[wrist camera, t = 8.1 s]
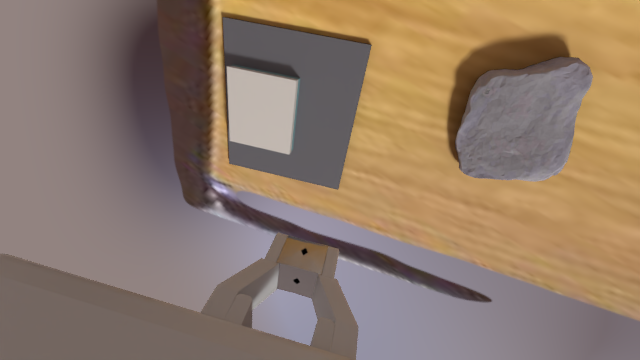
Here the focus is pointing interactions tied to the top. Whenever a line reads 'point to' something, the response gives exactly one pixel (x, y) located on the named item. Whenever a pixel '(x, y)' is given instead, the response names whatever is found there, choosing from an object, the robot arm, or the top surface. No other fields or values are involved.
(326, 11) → the top surface
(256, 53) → the mat
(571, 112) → the stone block
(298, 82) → the tile
